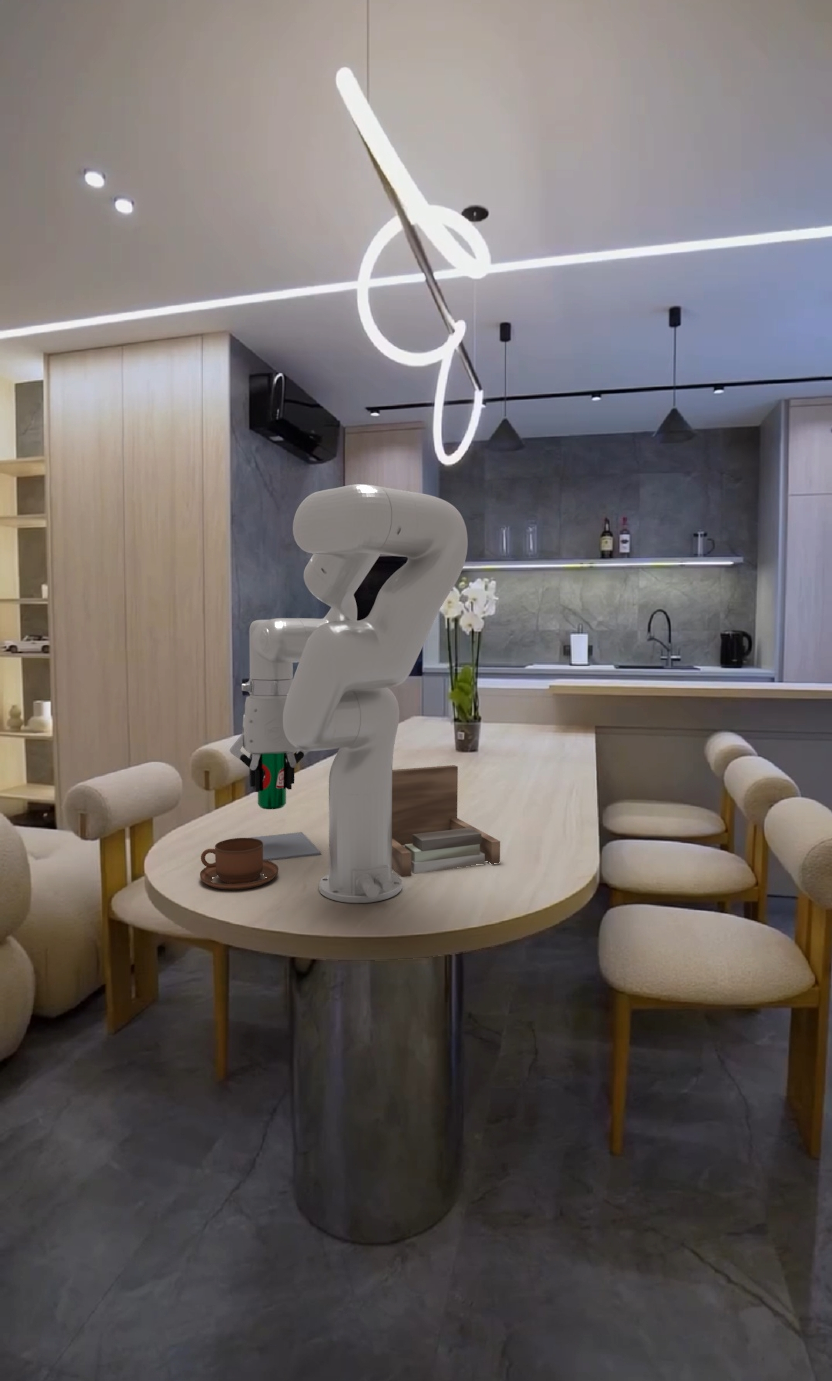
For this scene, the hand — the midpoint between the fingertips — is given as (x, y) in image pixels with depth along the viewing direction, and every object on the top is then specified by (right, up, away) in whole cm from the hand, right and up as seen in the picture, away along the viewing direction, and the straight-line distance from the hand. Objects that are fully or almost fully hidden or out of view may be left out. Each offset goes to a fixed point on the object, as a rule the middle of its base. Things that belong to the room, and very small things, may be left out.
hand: (272, 788), depth 128 cm
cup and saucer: (-2, -13, -16) cm, 21 cm away
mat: (0, -11, +1) cm, 11 cm away
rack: (+29, -12, -2) cm, 31 cm away
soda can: (0, -4, 0) cm, 4 cm away
